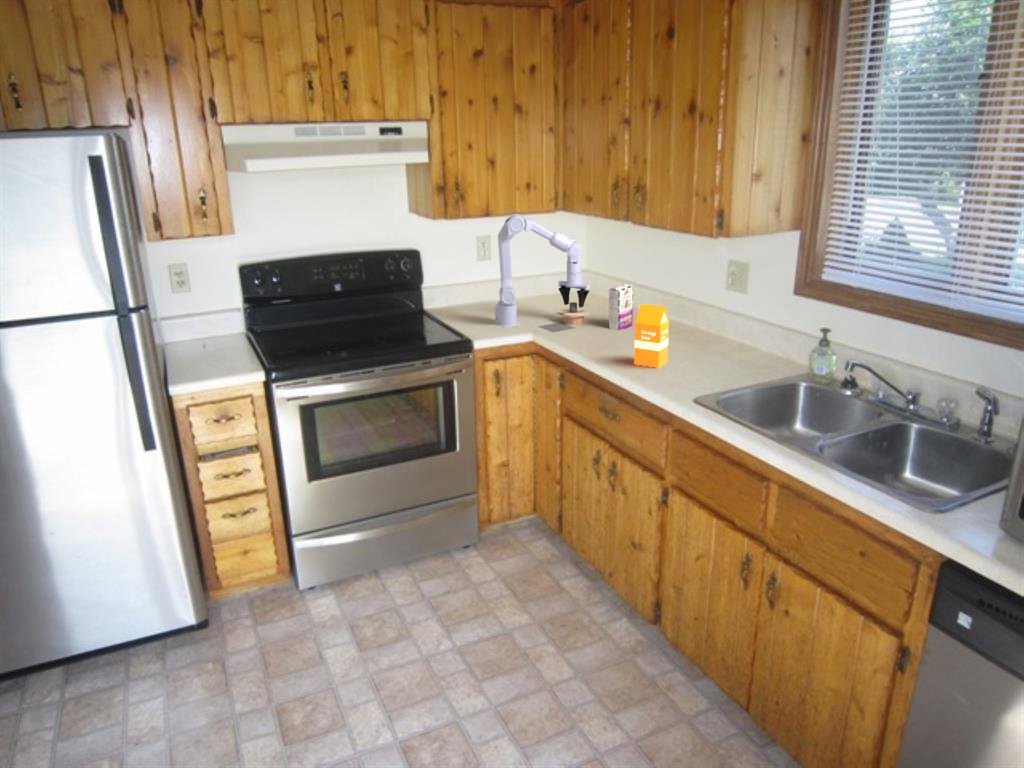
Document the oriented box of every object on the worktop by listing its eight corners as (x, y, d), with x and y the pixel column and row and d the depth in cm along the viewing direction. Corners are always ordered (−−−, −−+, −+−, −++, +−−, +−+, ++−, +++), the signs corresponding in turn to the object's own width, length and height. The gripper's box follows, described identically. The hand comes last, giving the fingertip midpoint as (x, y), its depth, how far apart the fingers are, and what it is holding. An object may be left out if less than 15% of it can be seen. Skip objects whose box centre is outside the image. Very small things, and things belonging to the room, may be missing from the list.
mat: (537, 327, 297) (537, 326, 296) (560, 323, 302) (560, 322, 302) (553, 333, 288) (553, 332, 288) (576, 328, 293) (576, 327, 293)
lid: (556, 313, 302) (556, 302, 301) (575, 309, 307) (575, 299, 306) (570, 317, 294) (570, 307, 293) (590, 314, 299) (590, 303, 298)
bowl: (560, 322, 304) (560, 313, 302) (575, 319, 308) (576, 310, 306) (571, 326, 297) (571, 316, 296) (587, 323, 301) (587, 314, 300)
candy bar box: (621, 323, 299) (622, 283, 294) (632, 325, 296) (634, 284, 291) (607, 329, 291) (608, 288, 286) (618, 331, 288) (619, 289, 283)
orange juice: (643, 358, 253) (645, 301, 247) (667, 362, 249) (670, 304, 242) (633, 364, 247) (635, 306, 241) (658, 368, 243) (660, 309, 236)
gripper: (594, 272, 294) (594, 306, 298) (566, 269, 303) (566, 301, 307) (583, 275, 289) (583, 309, 293) (555, 271, 298) (555, 304, 303)
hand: (573, 305), depth 300 cm, fingers open, 7 cm apart
